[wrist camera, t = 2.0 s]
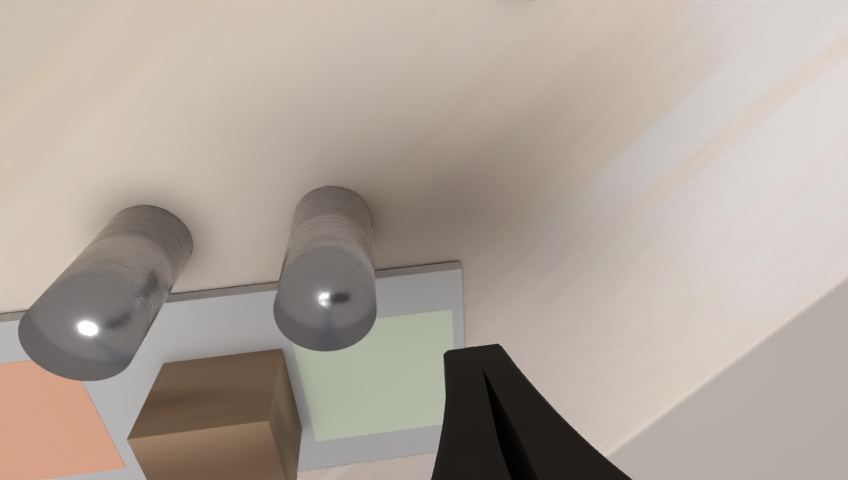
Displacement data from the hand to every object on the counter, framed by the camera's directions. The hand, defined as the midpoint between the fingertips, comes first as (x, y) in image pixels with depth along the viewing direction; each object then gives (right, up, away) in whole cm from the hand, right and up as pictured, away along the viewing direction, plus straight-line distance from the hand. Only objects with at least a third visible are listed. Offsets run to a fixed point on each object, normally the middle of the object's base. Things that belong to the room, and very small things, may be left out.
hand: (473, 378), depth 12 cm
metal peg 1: (-12, +3, +7) cm, 14 cm away
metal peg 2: (-5, +4, +8) cm, 10 cm away
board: (-11, -4, +11) cm, 16 cm away
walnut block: (-10, -4, +11) cm, 15 cm away
